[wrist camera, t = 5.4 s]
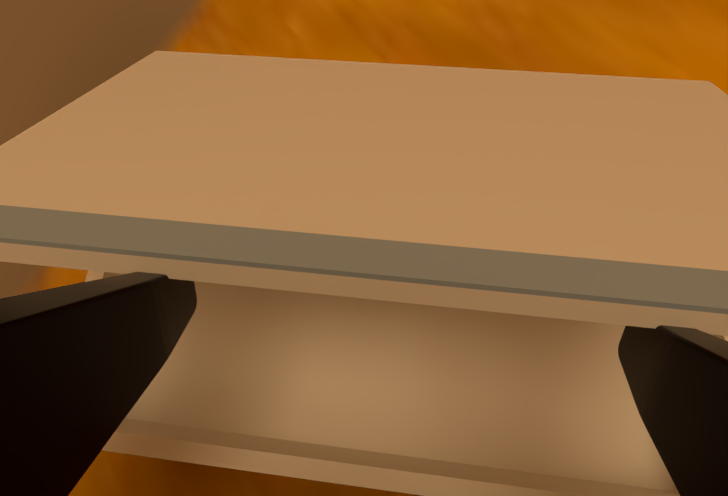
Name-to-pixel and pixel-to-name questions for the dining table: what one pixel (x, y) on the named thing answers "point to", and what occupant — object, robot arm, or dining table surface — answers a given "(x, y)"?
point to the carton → (396, 398)
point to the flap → (388, 185)
